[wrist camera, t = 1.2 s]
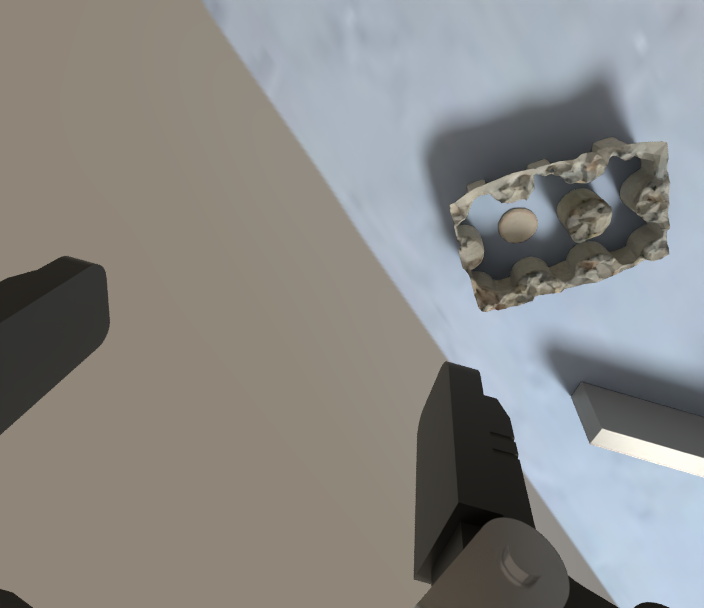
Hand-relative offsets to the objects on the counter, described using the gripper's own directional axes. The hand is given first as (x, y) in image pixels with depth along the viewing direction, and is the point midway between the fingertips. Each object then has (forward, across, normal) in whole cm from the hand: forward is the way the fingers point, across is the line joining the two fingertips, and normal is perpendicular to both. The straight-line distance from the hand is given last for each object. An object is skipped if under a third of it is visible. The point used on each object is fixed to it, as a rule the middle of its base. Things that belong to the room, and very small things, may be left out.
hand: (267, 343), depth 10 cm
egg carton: (+19, -11, 0) cm, 22 cm away
